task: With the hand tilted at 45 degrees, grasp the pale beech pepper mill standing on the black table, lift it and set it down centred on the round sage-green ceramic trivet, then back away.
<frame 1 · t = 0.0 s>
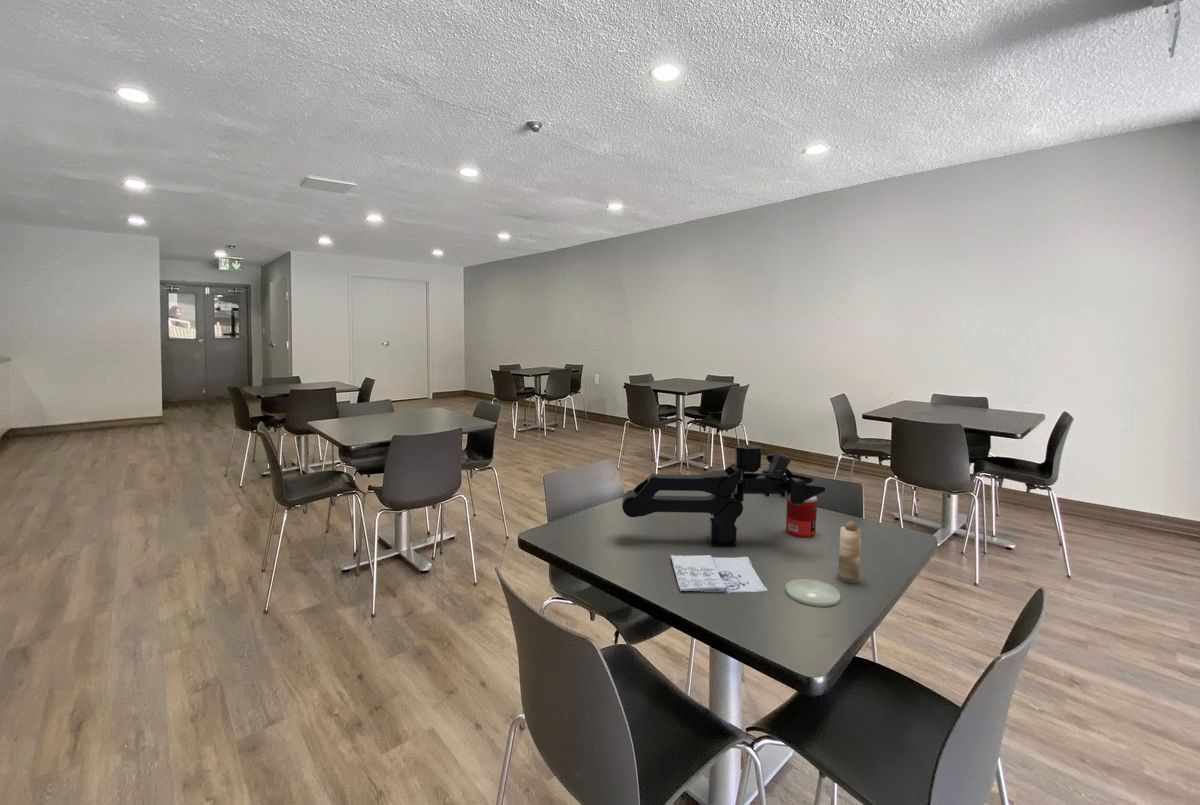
hand: (818, 484, 145), 17 cm above the table, tool horizontal, fingers open, 9 cm apart
trivet: (812, 594, 117), on the table
canned food: (800, 534, 155), on the table
open notebook: (716, 578, 127), on the table
pepper mill: (848, 579, 125), on the table
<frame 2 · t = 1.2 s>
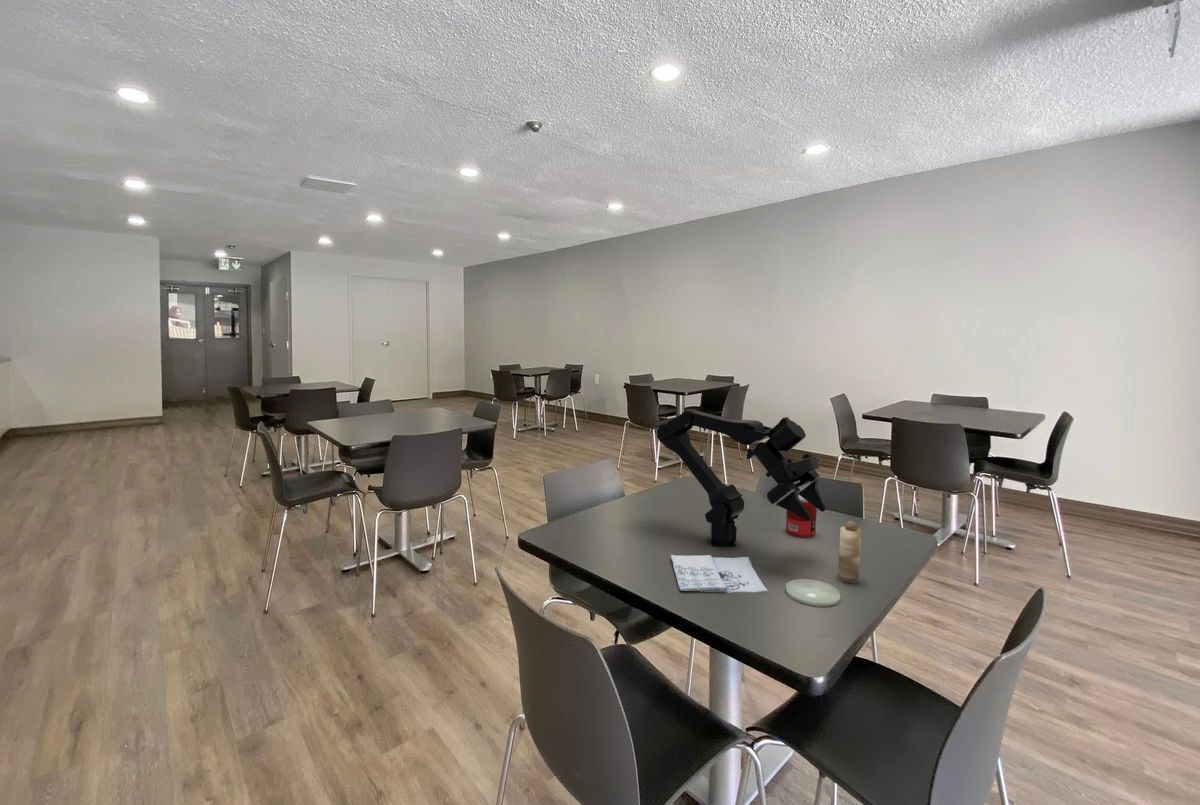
hand: (817, 515, 129), 13 cm above the table, tool tilted 45°, fingers open, 9 cm apart
nothing on the table moved.
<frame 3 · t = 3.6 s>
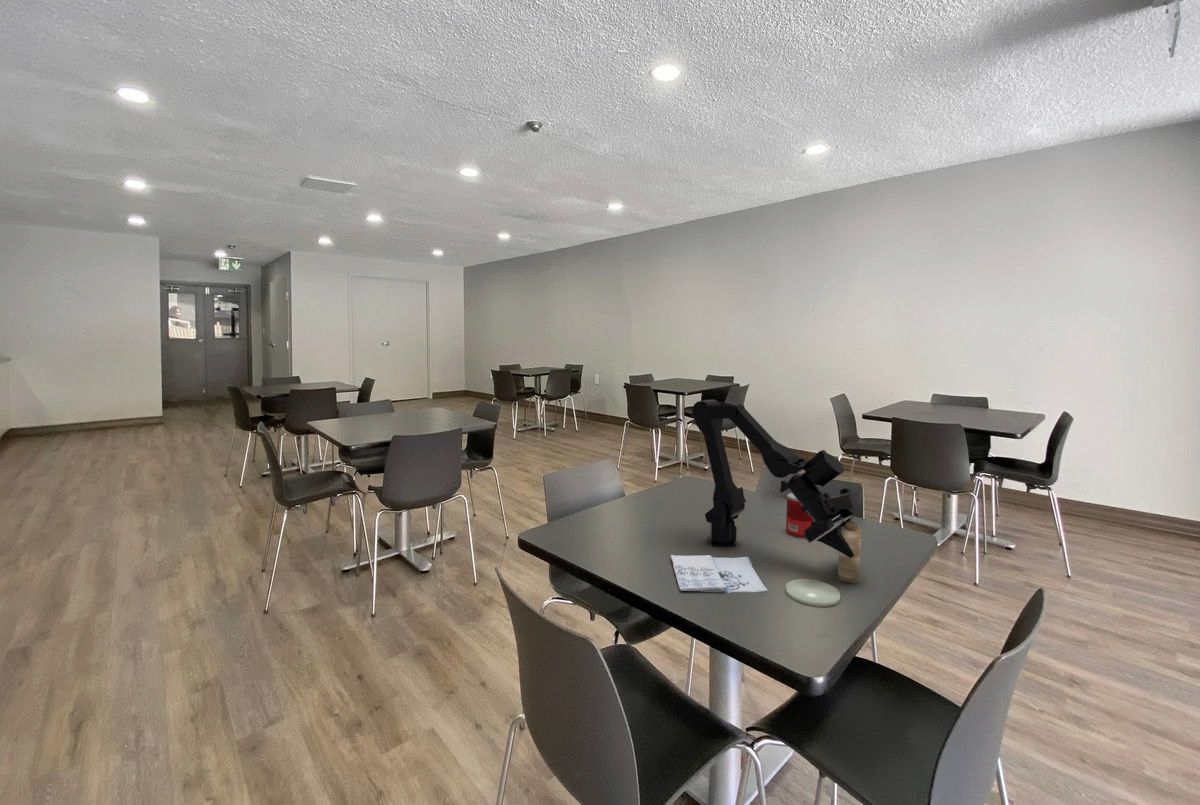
hand: (856, 553, 123), 7 cm above the table, tool tilted 45°, fingers closed on pepper mill, 4 cm apart
pepper mill: (848, 579, 125), on the table, touching gripper
everything else where it was.
when the fingers open (9 cm above the table, at t = 6.7 s): pepper mill drops 1 cm, resting on trivet.
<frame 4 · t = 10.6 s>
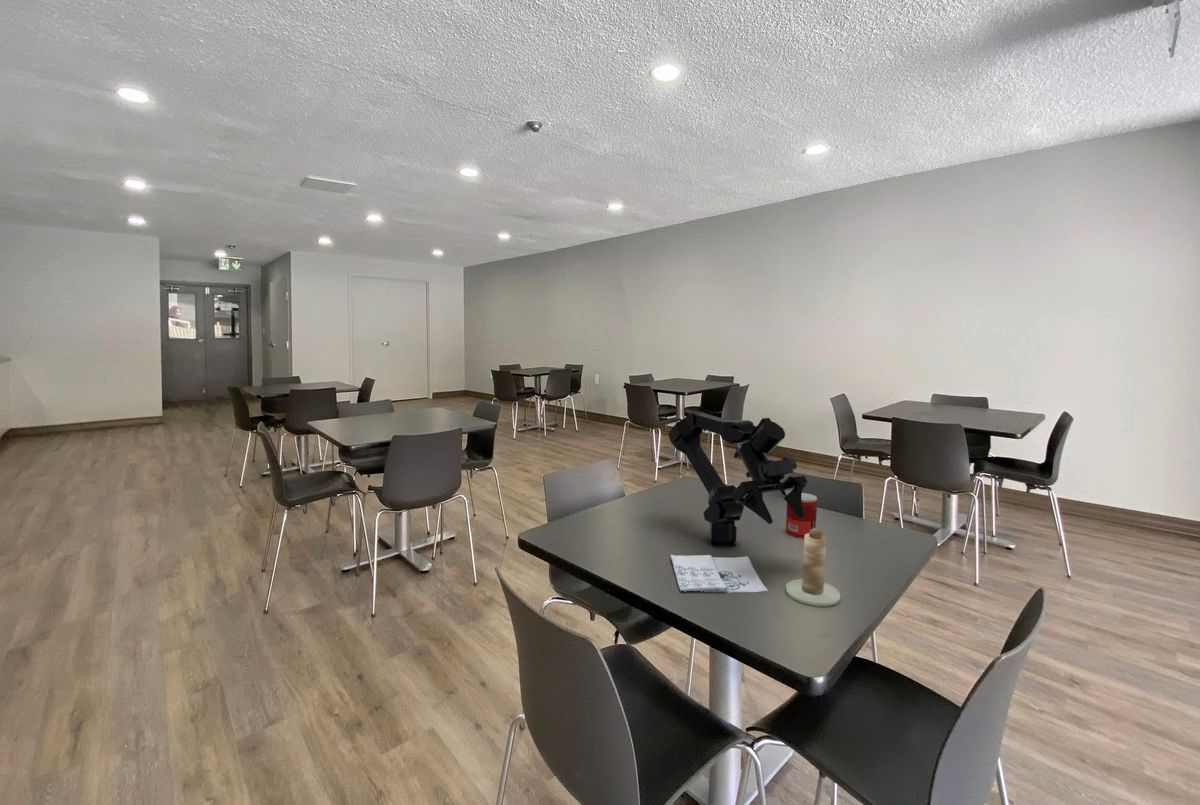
hand: (786, 520, 125), 14 cm above the table, tool tilted 45°, fingers open, 9 cm apart
pepper mill: (812, 590, 117), point 1 cm above the table, touching trivet
everything else where it was.
at the end: pepper mill 0.0 cm from the trivet (horizontally); pepper mill tilted 0°; pepper mill point 1.0 cm above the table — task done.
